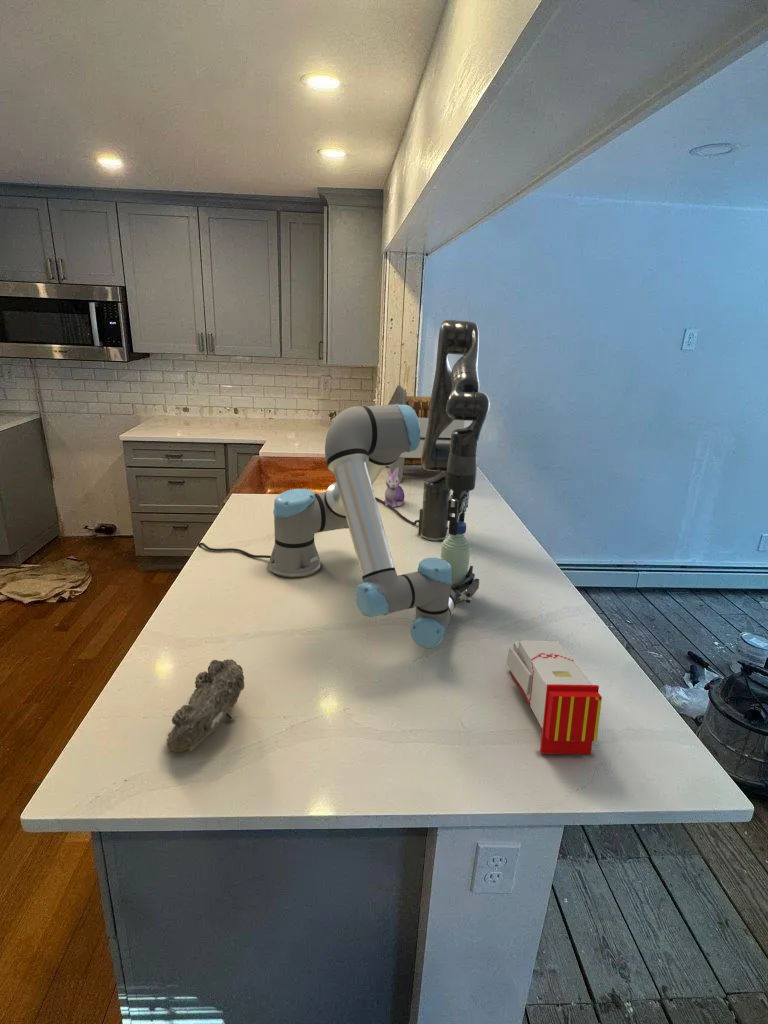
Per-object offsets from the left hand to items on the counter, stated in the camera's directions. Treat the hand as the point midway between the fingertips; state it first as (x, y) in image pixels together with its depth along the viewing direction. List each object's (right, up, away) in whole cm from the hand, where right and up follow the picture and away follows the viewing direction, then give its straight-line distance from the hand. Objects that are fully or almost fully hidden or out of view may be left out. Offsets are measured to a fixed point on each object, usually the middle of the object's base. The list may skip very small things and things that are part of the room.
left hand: (456, 567), depth 161 cm
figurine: (-17, +19, +69) cm, 74 cm away
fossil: (-53, -23, -53) cm, 78 cm away
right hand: (-1, +11, -9) cm, 14 cm away
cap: (-1, +12, -9) cm, 16 cm away
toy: (+12, -24, -45) cm, 52 cm away
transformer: (-3, +35, +114) cm, 120 cm away
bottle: (-2, -7, -2) cm, 8 cm away
